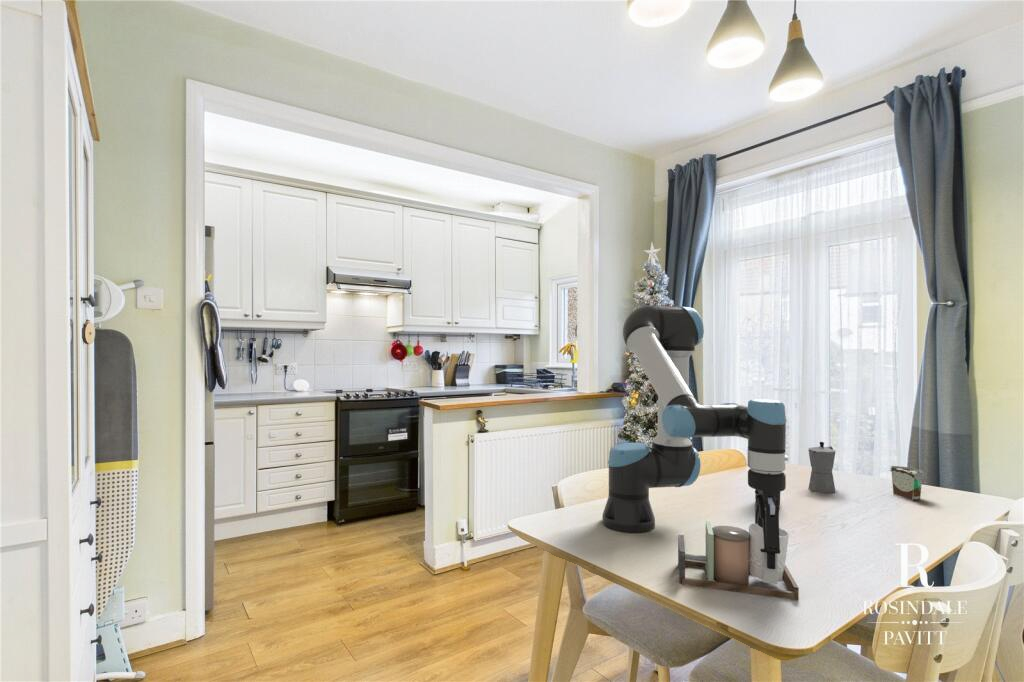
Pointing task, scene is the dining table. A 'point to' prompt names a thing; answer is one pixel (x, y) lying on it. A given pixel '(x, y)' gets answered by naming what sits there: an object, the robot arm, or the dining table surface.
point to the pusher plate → (709, 553)
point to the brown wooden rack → (727, 586)
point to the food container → (907, 482)
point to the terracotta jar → (731, 555)
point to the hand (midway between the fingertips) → (766, 574)
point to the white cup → (757, 556)
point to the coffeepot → (822, 469)
